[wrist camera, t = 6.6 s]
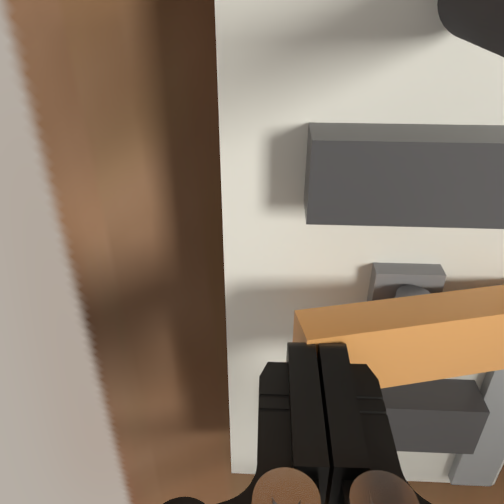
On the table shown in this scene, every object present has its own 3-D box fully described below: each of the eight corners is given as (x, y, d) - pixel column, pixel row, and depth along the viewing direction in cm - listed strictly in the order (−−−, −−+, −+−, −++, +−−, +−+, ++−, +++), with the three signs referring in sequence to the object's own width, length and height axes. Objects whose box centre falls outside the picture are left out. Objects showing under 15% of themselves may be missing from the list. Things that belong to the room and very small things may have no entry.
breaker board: (225, -57, 13) (203, -64, 9) (650, -57, 12) (815, -64, 8) (236, 415, 23) (228, 505, 19) (469, 424, 22) (507, 518, 18)
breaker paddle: (289, 299, 13) (307, 340, 12) (513, 272, 14) (554, 307, 13) (286, 356, 14) (302, 400, 13) (494, 327, 15) (529, 365, 14)
